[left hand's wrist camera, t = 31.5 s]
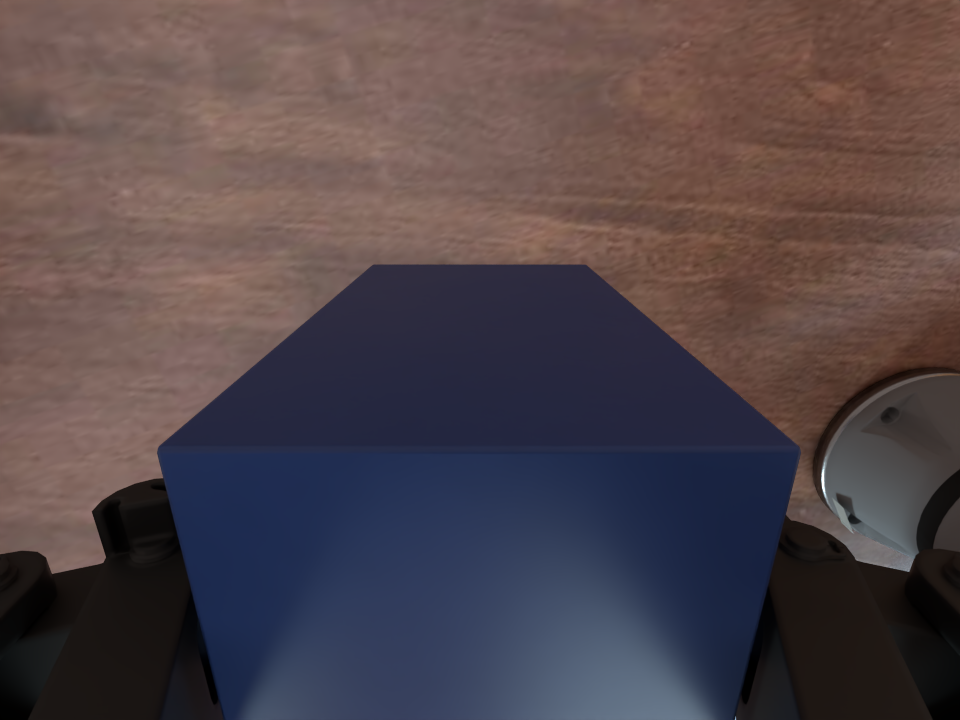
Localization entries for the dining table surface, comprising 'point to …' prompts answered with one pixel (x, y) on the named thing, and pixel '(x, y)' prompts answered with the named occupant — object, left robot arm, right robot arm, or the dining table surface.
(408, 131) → the dining table surface
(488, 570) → the brick
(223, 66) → the dining table surface
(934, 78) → the dining table surface
